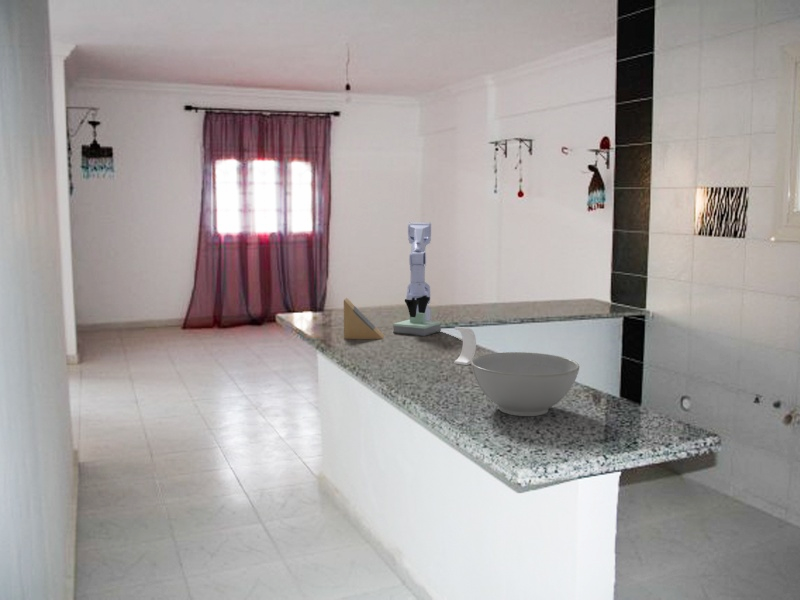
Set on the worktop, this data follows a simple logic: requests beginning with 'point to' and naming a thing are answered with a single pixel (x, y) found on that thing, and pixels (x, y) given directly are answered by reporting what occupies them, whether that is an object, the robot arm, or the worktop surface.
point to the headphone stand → (466, 346)
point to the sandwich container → (358, 324)
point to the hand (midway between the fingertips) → (417, 315)
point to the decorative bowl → (524, 380)
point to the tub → (417, 330)
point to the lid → (417, 322)
